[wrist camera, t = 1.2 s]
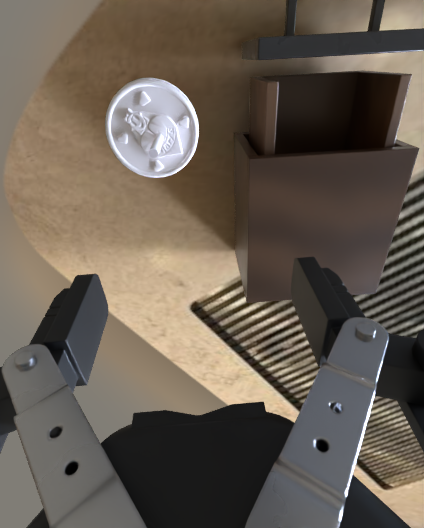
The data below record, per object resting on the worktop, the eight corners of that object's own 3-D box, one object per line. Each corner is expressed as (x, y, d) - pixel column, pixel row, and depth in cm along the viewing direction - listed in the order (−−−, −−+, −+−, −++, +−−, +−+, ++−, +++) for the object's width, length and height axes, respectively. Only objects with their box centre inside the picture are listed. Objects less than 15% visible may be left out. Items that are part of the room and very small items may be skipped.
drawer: (241, -26, 24) (261, -58, 17) (389, -34, 24) (463, -67, 18) (241, 188, 33) (253, 219, 27) (348, 180, 33) (387, 210, 27)
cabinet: (233, 132, 31) (249, 158, 23) (360, 125, 31) (419, 148, 23) (234, 251, 38) (246, 303, 30) (337, 244, 39) (376, 293, 31)
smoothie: (173, 160, 32) (164, 219, 20) (115, 121, 30) (67, 162, 18) (210, 102, 29) (223, 132, 18) (148, 55, 27) (118, 52, 15)
